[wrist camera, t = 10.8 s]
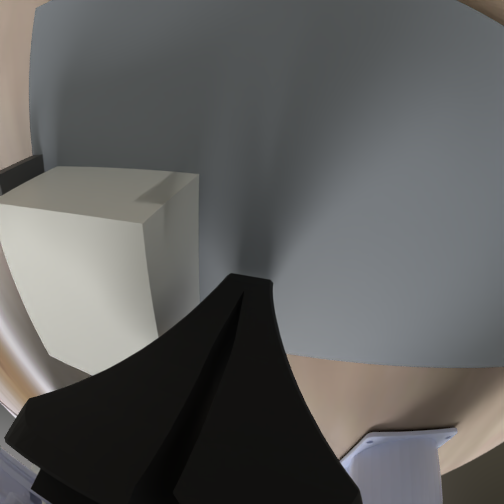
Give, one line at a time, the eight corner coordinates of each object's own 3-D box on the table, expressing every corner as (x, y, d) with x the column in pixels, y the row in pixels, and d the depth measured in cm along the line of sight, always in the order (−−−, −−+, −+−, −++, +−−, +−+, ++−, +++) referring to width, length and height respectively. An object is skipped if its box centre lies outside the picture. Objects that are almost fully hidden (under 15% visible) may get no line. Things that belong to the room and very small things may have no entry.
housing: (201, 337, 12) (173, 404, 9) (88, 306, 13) (49, 355, 10) (199, 174, 9) (142, 223, 6) (57, 166, 9) (-10, 202, 6)
